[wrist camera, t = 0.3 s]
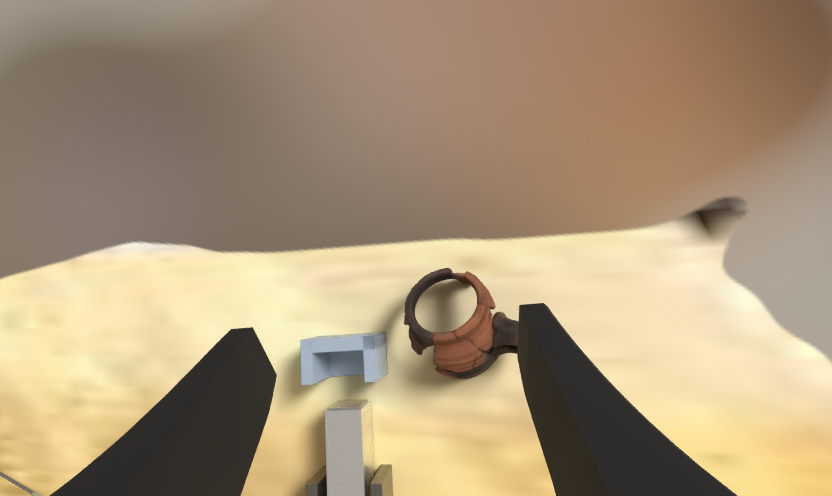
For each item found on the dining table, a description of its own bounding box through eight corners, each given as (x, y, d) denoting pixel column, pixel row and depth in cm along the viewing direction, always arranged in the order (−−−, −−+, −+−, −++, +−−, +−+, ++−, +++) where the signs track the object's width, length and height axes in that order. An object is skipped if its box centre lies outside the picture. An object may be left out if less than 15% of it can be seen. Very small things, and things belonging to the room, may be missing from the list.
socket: (387, 373, 40) (376, 381, 35) (320, 376, 41) (301, 385, 36) (385, 332, 40) (374, 335, 36) (318, 336, 41) (300, 340, 37)
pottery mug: (413, 379, 40) (382, 346, 34) (434, 296, 45) (411, 254, 39) (538, 400, 35) (529, 366, 29) (546, 305, 40) (540, 259, 34)
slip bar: (376, 534, 37) (367, 557, 34) (341, 534, 38) (329, 556, 34) (370, 398, 39) (360, 407, 36) (336, 400, 40) (324, 408, 36)
